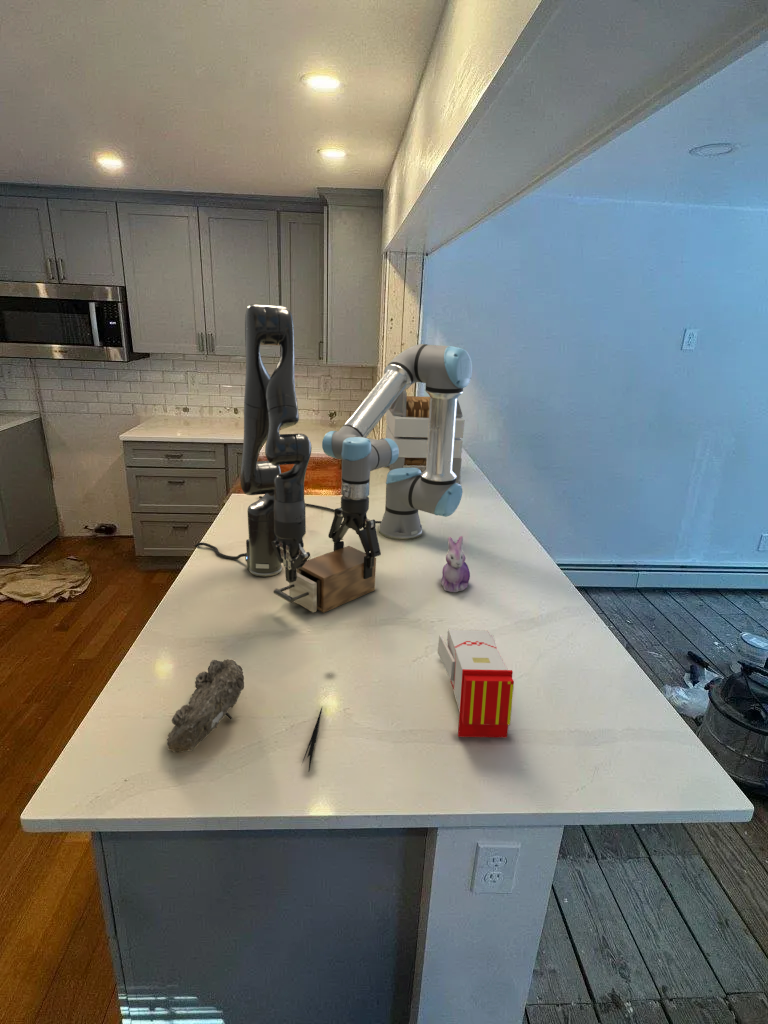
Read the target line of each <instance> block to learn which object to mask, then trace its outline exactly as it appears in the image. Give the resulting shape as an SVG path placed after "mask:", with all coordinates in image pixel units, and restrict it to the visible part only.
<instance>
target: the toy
mask: <svg viewBox="0 0 768 1024" xmlns="http://www.w3.org/2000/svg"><path fill="white" fill-rule="evenodd" d="M446 640H447V643H446V641H445V639H444V636H443V635H442V634H439V637H438V646H437V656H438V657H439V659H440V661H441V663H442V666H443V668H444V670H445V672H446V674H447V677H448V679H449V681H450V684H451V687H452V690H453V693H454V697H455V701H456V705H457V708H458V711H459V714H458V715H459V716H458V730H457V731H458V732H457V737H458V738H508V731H509V726H510V725H511V717H512V707H513V697H514V696H513V695H514V684H515V680H514V679H513V673H514V671H513V670H512V669H508V667H507V665H506V662H505V661H504V659H503V658H502V655H501V653H500V651H499V649H498V647H497V643H496V639H495V637H494V635H493V634H491V632H490V631H489V629H467V628H466V629H465V628H463V629H461V628H460V629H459V628H448V630H447V639H446Z"/></svg>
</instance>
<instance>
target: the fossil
mask: <svg viewBox="0 0 768 1024" xmlns="http://www.w3.org/2000/svg"><path fill="white" fill-rule="evenodd" d="M243 670H244V669H243V667H242V665H240V664H237V662H236V661H235V660H234V659H232V658H231V659H227V658H226V659H224V660H223V661H222V660H217V659H212V660H211V661H210V663H209V665H208V666H207V671H201V672H199V673H198V674H197V675H196V676H195V680H194V684H195V685H194V687H195V689H194V690H193V693H192V694H191V697H190V698H189V700H188V704H184V705H182V706H181V707H180V709H177V710H176V711H175V713H174V715H173V716H172V718H171V723H172V724H173V727H172V730H171V731H170V732H168V734H167V738H166V741H167V742H166V745H167V749H168V750H169V751H173V752H174V753H176V754H178V753H182V752H188V751H189V752H192V751H193V750H195V748H196V747H197V746H199V744H200V743H201V742H203V741H204V740H205V739H206V738H207V737H208V736H209V735H210V734H211V733H212V732H214V730H215V729H217V727H218V726H219V724H220V722H221V721H222V720H223V719H224V718H225V716H226V717H227V719H229V720H233V717H232V715H230V714H229V710H230V709H231V708H234V706H235V704H236V703H237V702H238V699H239V697H240V695H241V693H242V691H243V690H245V689H244V688H245V675H244V671H243Z"/></svg>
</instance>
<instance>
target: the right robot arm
mask: <svg viewBox="0 0 768 1024" xmlns="http://www.w3.org/2000/svg"><path fill="white" fill-rule="evenodd" d="M472 363H473V362H472V359H471V356H470V355H469V352H468V351H467V350H466V349H465V348H462V347H458V346H453V345H441V344H440V345H438V344H426V343H419V344H415V345H412V346H410V347H408V348H406V349H404V350H403V351H401V352H400V353H399V354H397V355H396V356H394V358H392V359H391V361H390V362H389V363H388V364H387V365H386V366H385V368H384V371H383V376H382V377H381V378H380V379H379V380H378V382H377V383H376V384H375V386H374V387H372V389H371V391H370V392H368V394H367V395H366V396H365V397H364V399H363V400H362V401H361V403H359V405H358V407H357V408H356V409H355V410H354V411H353V412H352V414H351V415H350V416H349V417H348V419H347V420H346V421H345V422H344V424H343V425H342V426H341V428H340V429H339V430H330V431H328V432H326V433H325V435H324V436H323V439H322V441H321V447H322V451H323V453H324V454H325V455H326V456H328V457H331V458H333V459H336V460H341V484H340V487H341V488H340V490H341V491H340V494H341V497H340V507H337V508H335V509H334V508H330V507H326V506H322V505H317V504H311V503H305V507H312V508H317V509H322V510H326V511H330V512H334V513H333V520H332V523H331V525H330V529H329V532H328V539H331V540H332V542H333V551H335V550H338V549H341V548H344V547H345V542H344V541H343V540H344V537H345V535H346V533H348V531H349V529H351V530H352V531H355V534H357V535H358V538H359V541H360V543H361V546H362V549H363V552H364V553H366V556H364V573H363V578H364V579H367V578H369V577H372V570H373V567H374V558H377V557H380V556H381V553H382V552H381V547H380V543H379V539H378V534H377V529H376V524H379V526H378V533H379V534H380V535H381V536H382V537H385V538H387V539H389V540H395V541H410V540H415V539H418V538H420V537H421V536H422V535H423V525H422V524H421V518H420V515H419V511H421V512H424V513H428V514H431V515H434V516H440V517H444V518H445V517H450V516H452V515H453V514H454V513H455V512H456V511H457V509H458V507H459V505H460V503H461V501H462V498H463V487H462V485H461V484H459V483H456V474H455V473H454V472H453V471H452V467H453V453H454V439H455V425H456V412H457V398H458V399H459V397H460V396H461V395H462V394H463V393H464V389H465V388H466V387H468V386H469V384H470V383H471V379H472V375H473V364H472ZM416 383H422V384H425V392H426V394H428V395H429V396H428V397H430V404H429V422H428V441H427V459H426V466H425V469H424V470H423V471H422V470H421V469H420V468H418V467H404V468H398V469H394V470H391V471H390V470H388V472H387V475H386V480H385V504H384V505H385V507H384V508H385V509H384V513H383V515H382V519H381V520H376V519H374V518H373V519H369V518H368V515H367V513H368V511H369V509H370V487H371V486H370V485H371V483H370V480H371V472H372V471H375V470H378V469H381V468H386V467H387V466H389V465H390V464H393V463H394V462H395V461H396V460H397V459H398V456H399V449H398V446H397V444H396V443H395V442H394V441H393V440H392V439H389V438H386V437H385V438H386V439H385V438H383V437H382V438H379V439H375V438H370V437H368V436H369V435H370V433H371V432H372V431H373V430H374V429H375V428H376V426H377V424H378V423H380V421H381V419H382V418H383V417H384V416H385V414H386V412H387V410H388V409H389V408H390V407H391V405H392V404H393V403H394V401H395V400H396V399H397V398H398V396H399V395H400V394H401V392H402V391H403V390H406V391H407V390H408V389H410V388H411V386H412V385H414V384H416ZM262 497H263V496H262V495H258V498H259V499H261V498H262Z"/></svg>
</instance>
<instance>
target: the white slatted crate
mask: <svg viewBox="0 0 768 1024" xmlns="http://www.w3.org/2000/svg"><path fill="white" fill-rule="evenodd" d="M407 394H408V393H407V389H406V390H403V391H402V392H401V394H400V395H399V396H398V398H397V399H396V400H395V401H394V403H393V404H392V405H391V407H390V408H389V409H388V410H387V412H386V413H385V414H386V415H385V423H386V428H385V438H384V439H386V438H389V439H392V440H393V441H394V442H395V443H396V444H397V446H398V449H399V456H398V459H397V460H396V461H395V462H394V463H393V464H390V465H389V466H386V467H388V468H389V471H391V470H394V469H398V468H405V466H406V467H407V466H411V467H412V466H413V467H415V466H416V467H417V466H418V467H426V459H427V441H428V422H429V404H430V396H415V395H414V396H413V395H412V396H411V395H407ZM464 429H465V419H464V418H463V411H462V408H461V405H460V402H459V397H458V398H457V412H456V425H455V439H454V453H453V467H452V471H453V472H454V473H455V474H456V483H458V484H459V483H461V472H462V461H463V460H462V453H463V442H464V441H463V440H462V439H463V438H464V431H465V430H464Z"/></svg>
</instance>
